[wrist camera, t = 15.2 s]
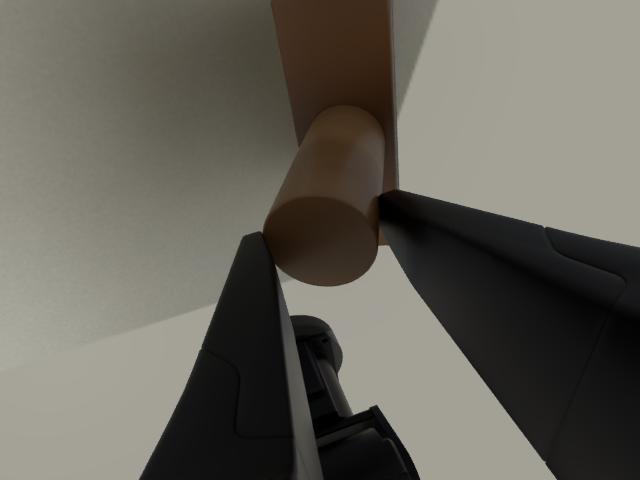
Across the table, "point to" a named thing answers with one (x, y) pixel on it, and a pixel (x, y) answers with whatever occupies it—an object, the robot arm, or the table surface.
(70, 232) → the table surface
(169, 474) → the robot arm
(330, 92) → the brush
